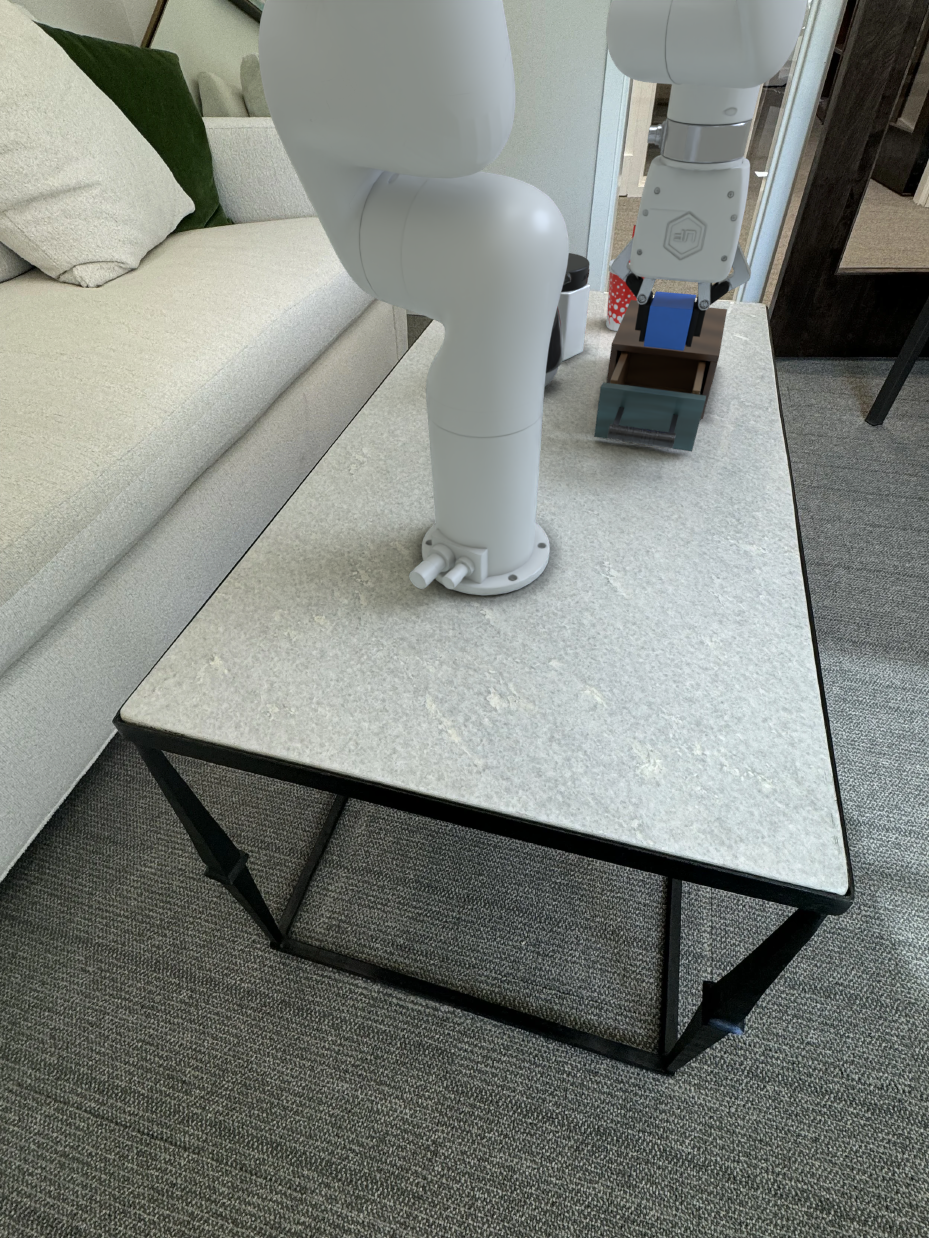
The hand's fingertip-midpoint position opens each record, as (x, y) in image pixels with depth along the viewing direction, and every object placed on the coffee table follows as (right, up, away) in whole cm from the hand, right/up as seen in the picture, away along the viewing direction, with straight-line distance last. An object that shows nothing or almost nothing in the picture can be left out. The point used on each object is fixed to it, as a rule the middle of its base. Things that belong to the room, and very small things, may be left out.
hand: (666, 337), depth 73 cm
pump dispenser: (-15, 0, +16) cm, 22 cm away
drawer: (-1, -9, +5) cm, 10 cm away
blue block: (0, 0, 0) cm, 0 cm away
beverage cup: (+2, +14, +29) cm, 32 cm away
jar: (-10, +8, +23) cm, 27 cm away
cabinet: (+4, 0, +14) cm, 15 cm away
